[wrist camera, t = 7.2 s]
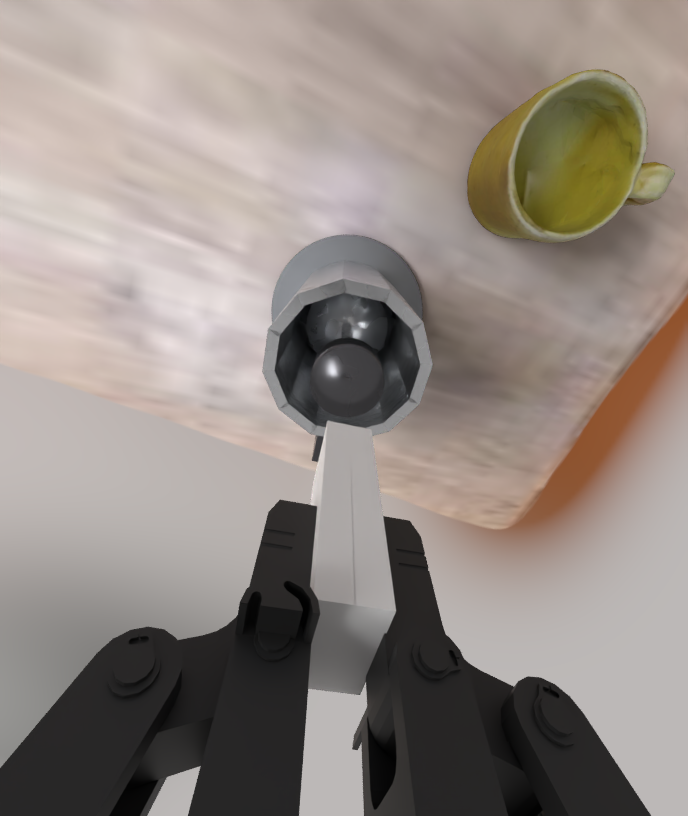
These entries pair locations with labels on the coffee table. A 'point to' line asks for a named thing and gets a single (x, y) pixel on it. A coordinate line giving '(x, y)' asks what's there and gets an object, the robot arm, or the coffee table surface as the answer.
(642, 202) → the mug
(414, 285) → the coaster
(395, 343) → the grey french press
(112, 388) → the coffee table surface
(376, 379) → the plunger
